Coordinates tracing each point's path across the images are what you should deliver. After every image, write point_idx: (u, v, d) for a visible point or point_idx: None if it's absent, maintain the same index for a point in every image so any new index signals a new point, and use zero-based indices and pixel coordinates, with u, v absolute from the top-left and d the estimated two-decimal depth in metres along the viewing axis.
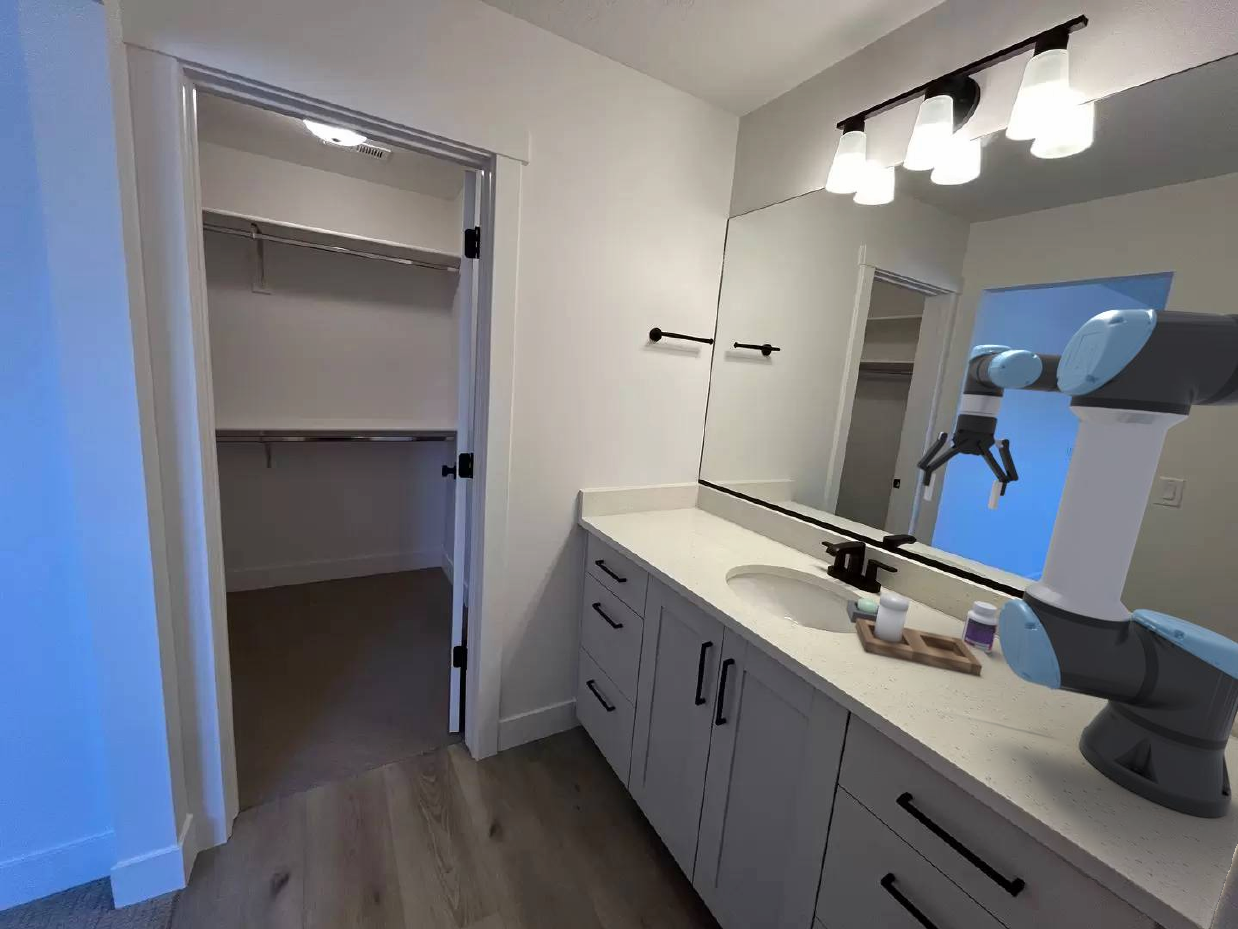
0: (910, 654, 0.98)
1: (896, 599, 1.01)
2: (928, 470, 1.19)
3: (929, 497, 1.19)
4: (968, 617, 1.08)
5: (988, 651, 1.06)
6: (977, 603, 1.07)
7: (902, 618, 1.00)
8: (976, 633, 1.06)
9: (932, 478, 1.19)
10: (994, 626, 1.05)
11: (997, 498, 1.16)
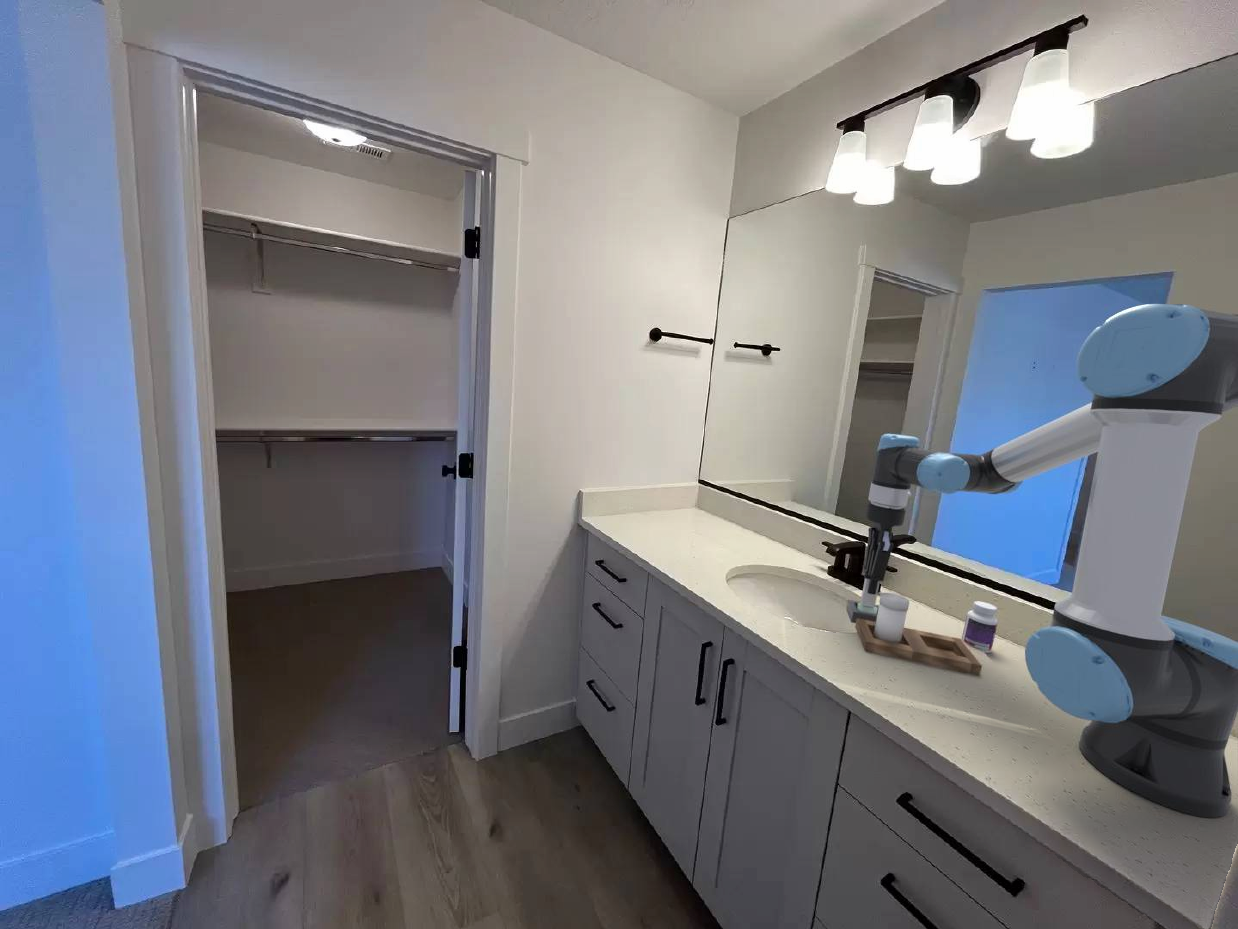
0: (910, 654, 0.98)
1: (896, 599, 1.01)
2: None
3: (861, 600, 1.15)
4: (968, 617, 1.08)
5: (988, 651, 1.06)
6: (977, 603, 1.07)
7: (902, 618, 1.00)
8: (976, 633, 1.06)
9: (865, 580, 1.14)
10: (994, 626, 1.05)
11: (863, 593, 1.14)
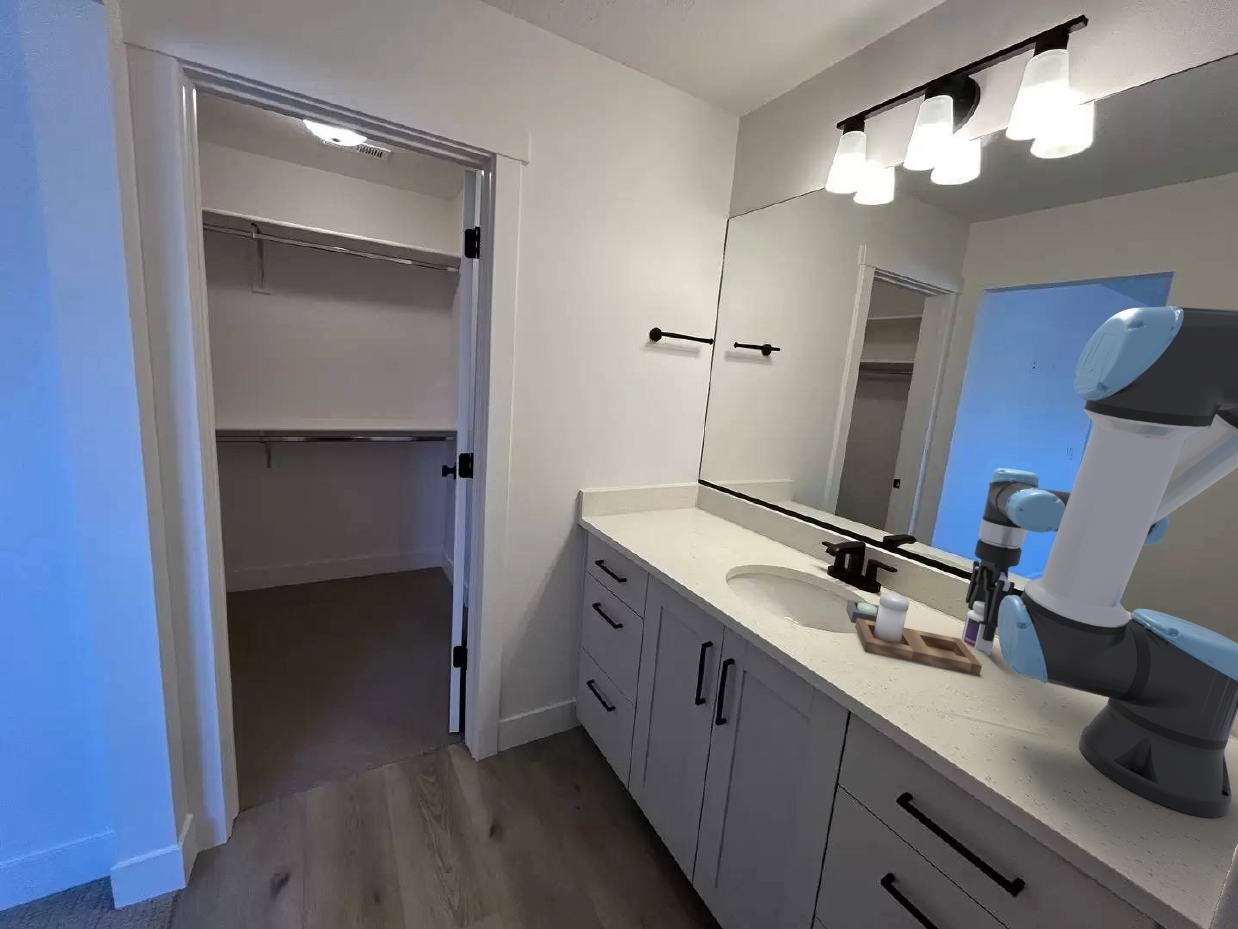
0: (910, 654, 0.98)
1: (896, 599, 1.01)
2: (968, 606, 1.12)
3: None
4: (968, 617, 1.08)
5: None
6: (977, 603, 1.07)
7: (902, 618, 1.00)
8: (976, 633, 1.06)
9: None
10: None
11: (977, 639, 1.05)
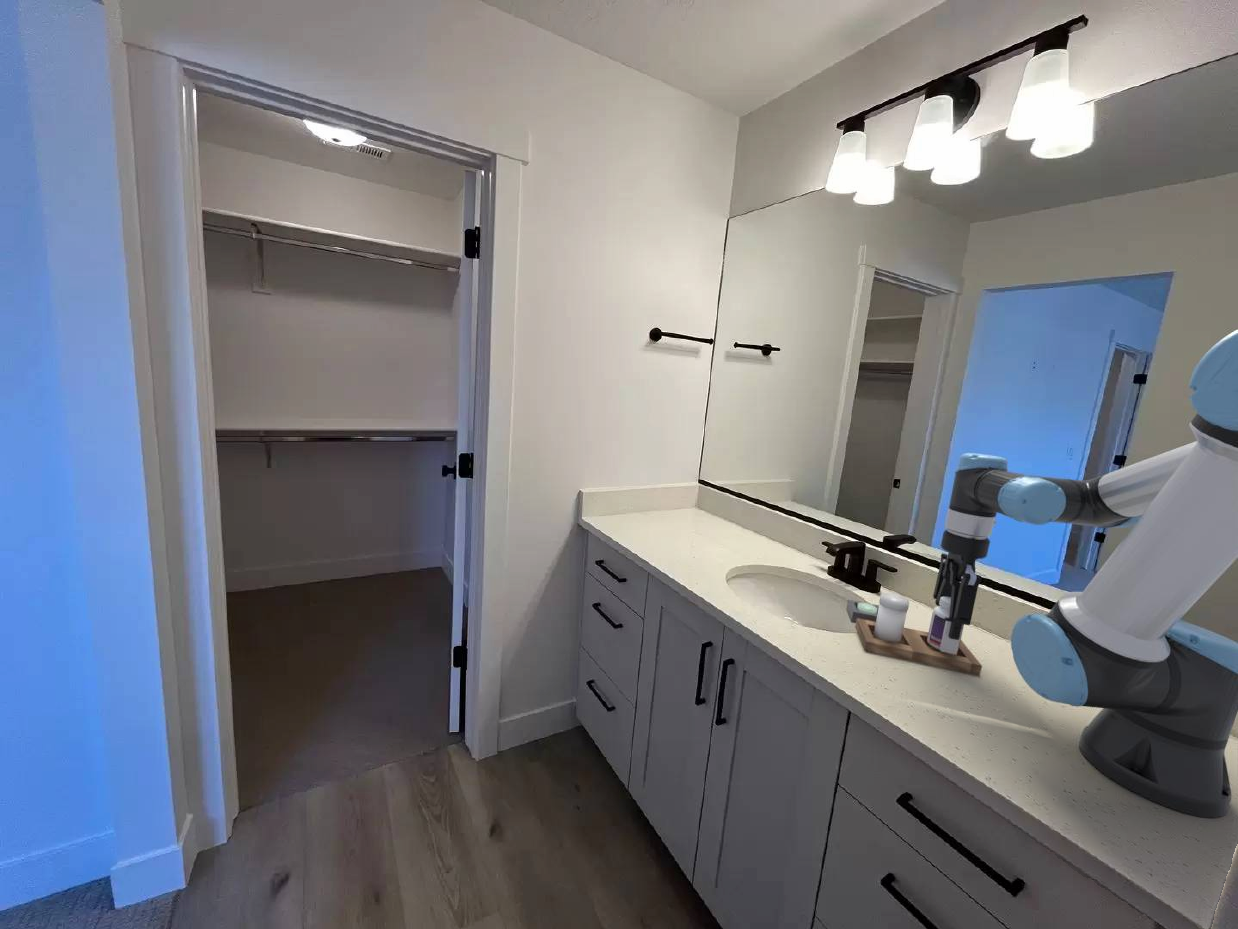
0: (910, 654, 0.98)
1: (896, 599, 1.01)
2: None
3: None
4: (934, 613, 1.00)
5: None
6: (943, 598, 1.00)
7: (902, 618, 1.00)
8: (941, 630, 0.98)
9: None
10: None
11: (943, 637, 0.98)
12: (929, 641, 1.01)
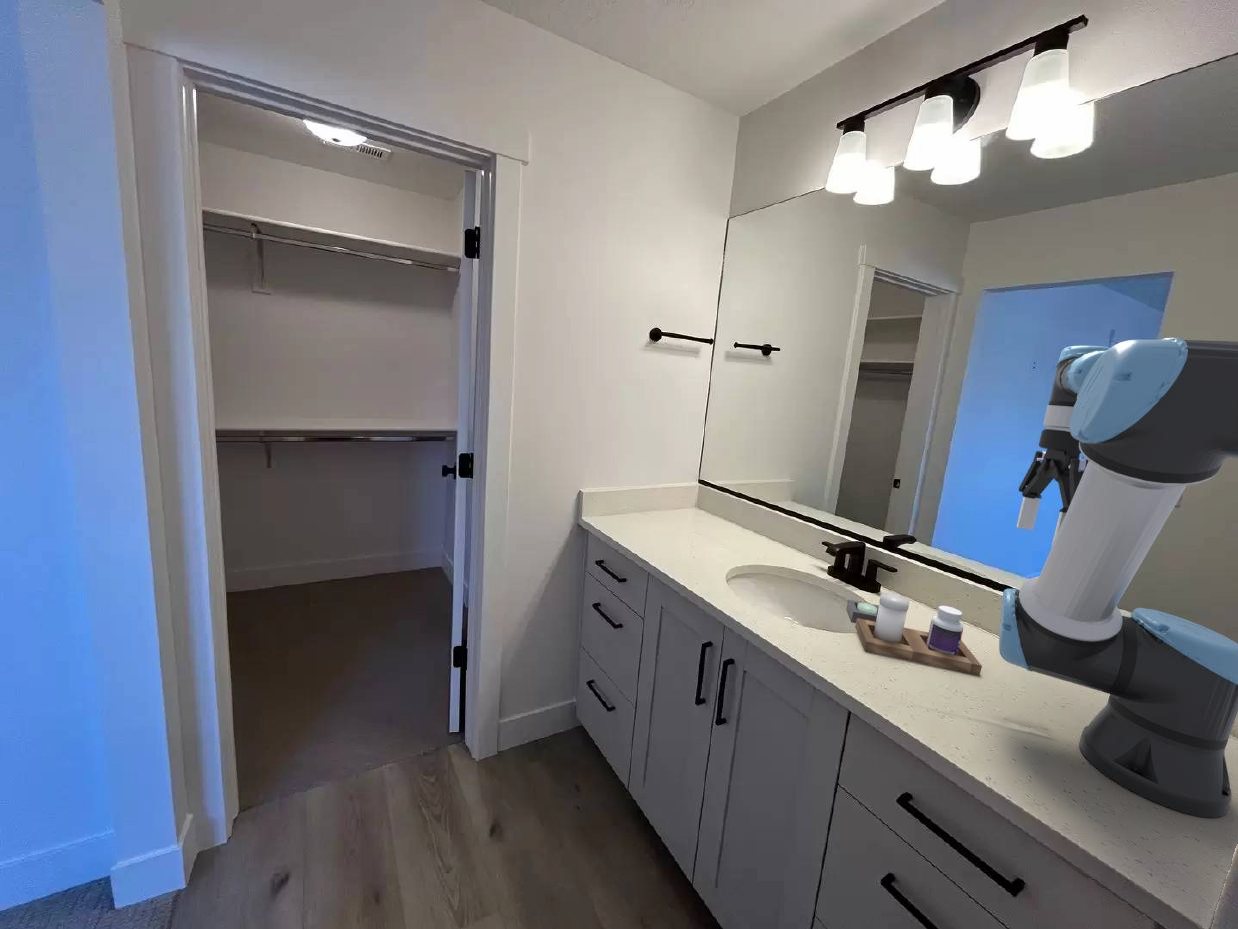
0: (910, 654, 0.98)
1: (896, 599, 1.01)
2: (1022, 493, 1.06)
3: (1018, 523, 1.06)
4: (932, 623, 1.00)
5: None
6: (942, 608, 1.00)
7: (902, 618, 1.00)
8: (940, 640, 0.99)
9: (1022, 502, 1.05)
10: (959, 633, 0.98)
11: (1056, 531, 0.92)
12: None
